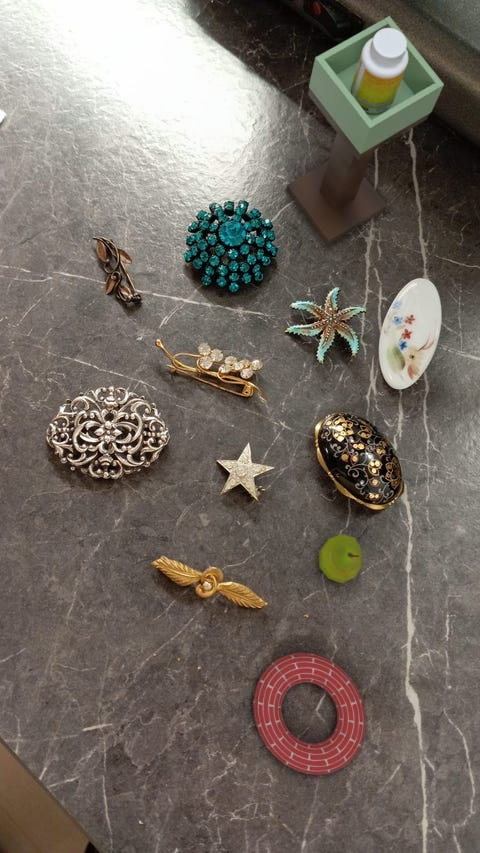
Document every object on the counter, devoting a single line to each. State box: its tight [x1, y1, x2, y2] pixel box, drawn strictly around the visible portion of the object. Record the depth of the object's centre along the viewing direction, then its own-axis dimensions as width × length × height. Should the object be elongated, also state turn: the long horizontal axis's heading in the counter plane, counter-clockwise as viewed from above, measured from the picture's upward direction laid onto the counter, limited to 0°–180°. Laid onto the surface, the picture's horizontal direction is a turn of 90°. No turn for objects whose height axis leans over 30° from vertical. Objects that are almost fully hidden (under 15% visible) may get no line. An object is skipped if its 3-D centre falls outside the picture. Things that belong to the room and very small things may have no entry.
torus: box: [252, 652, 367, 776], centre depth 118 cm, size 16×14×4 cm
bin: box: [308, 16, 445, 154], centre depth 111 cm, size 11×11×6 cm
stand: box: [285, 88, 430, 246], centre depth 126 cm, size 11×11×26 cm
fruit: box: [318, 533, 364, 584], centre depth 119 cm, size 6×6×12 cm
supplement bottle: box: [351, 28, 408, 113], centre depth 108 cm, size 6×6×10 cm
